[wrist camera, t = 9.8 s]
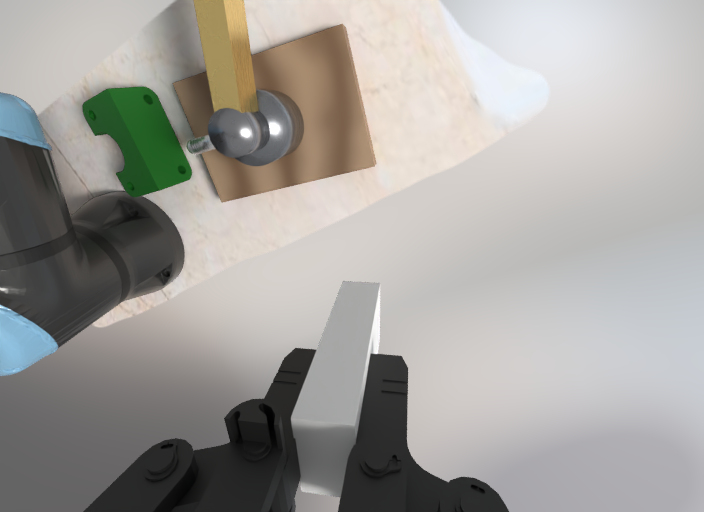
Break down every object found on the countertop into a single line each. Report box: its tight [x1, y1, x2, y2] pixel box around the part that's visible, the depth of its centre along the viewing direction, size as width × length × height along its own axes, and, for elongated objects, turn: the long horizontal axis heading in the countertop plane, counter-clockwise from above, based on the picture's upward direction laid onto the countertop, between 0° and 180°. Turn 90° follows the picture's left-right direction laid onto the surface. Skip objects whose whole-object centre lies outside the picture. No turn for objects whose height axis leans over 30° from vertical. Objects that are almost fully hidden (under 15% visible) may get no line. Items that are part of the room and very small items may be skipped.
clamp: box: [83, 87, 192, 197], centre depth 41 cm, size 12×6×9 cm, turn 10°
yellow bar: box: [194, 0, 270, 158], centre depth 28 cm, size 16×4×4 cm, turn 1°
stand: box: [173, 24, 376, 202], centre depth 39 cm, size 20×14×2 cm
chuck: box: [187, 90, 304, 166], centre depth 36 cm, size 13×7×6 cm, turn 104°
